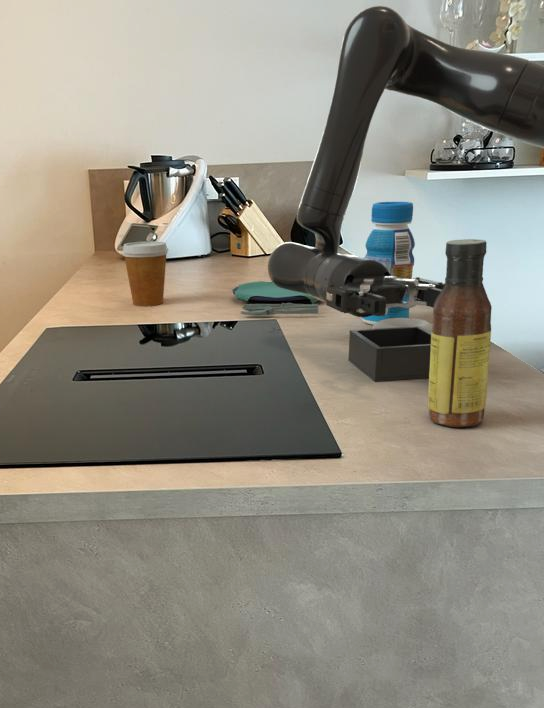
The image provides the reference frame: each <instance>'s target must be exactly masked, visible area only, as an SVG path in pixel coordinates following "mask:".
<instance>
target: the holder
mask: <svg viewBox="0 0 544 708" xmlns="http://www.w3.org/2000/svg"><path fill="white" fill-rule="evenodd" d="M430 351H431V332H430V331H428V330H426V329H424V328H422V327H420V326H413V327H397V328H381V329H371V328H367V329H364V328H363V329H351V330H349V341H348V359H347V360H348V362H350V363H351V364H352V365H354V367H356V368H357V369H358V370H359V371H361V372H362V373H364V374H365V375H366V376H367V377H368V378H369V379H371V380H372V381H373V382H375V383H376V382H390V381H404V380H405V381H406V380H419V379H420V380H421V379H429V372H430Z"/></svg>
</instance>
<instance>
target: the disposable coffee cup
mask: <svg viewBox="0 0 544 708" xmlns="http://www.w3.org/2000/svg"><path fill="white" fill-rule="evenodd" d="M168 252H169V248H168V246H167V242H165V241H158V240H157V241H151V240H150V241H135V242H128V243H124V244H123V247H122V251H121V253H122V255H123V257H124V262H125V267H126V272H127V279H128V283H129V288H130V295H131V299H132V304H133V305H134V306H139V307H151V306H152V307H153V306H159V305H162V304H163V303H164V293H165V280H166V279H165V278H166V266H167V255H168Z"/></svg>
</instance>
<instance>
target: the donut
mask: <svg viewBox="0 0 544 708" xmlns="http://www.w3.org/2000/svg"><path fill="white" fill-rule="evenodd" d="M413 326H420V327H422V328H424V329H426V330H428V331H430V332H431V331H432V327H433V323H431V322H429V321H427V320H425V319H420V318H412V317H409V318H390V319H384V320H381V321H378V322H376V323H375V324H374V325H372V326H371V328H370V329H381V328H397V327H413Z"/></svg>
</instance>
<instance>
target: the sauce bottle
mask: <svg viewBox="0 0 544 708" xmlns="http://www.w3.org/2000/svg"><path fill="white" fill-rule="evenodd" d="M486 255H487V240H486V239H474V238H467V239H465V238H464V239H452V240H448V241H447V242H446V243H445V256H446V271H445V272H446V274H445V278H444V283H445V286H444V288H443V290H442V291H441V293H440V294H439V296H438V297H437V299H436V300H435V303H434V308H433V310H432V325H433V327H432V331H431V351H430V372H429V378H428V393H427V407H428V417H429V419H430V421H432V422H433V423H434V424H436V425H442V426H445V427H449V428H468V427H474V426H478V425H479V424H480V423H482V421H484V417H485V408H486V405H487V394H488V393H487V391H488V381H489V380H488V378H489V365H490V353H491V339H492V324H491V323H492V322H491V321H492V308H493V307H492V304H491V303H492V302H491V301H490V299H489V297H488V294H487V292H486V289H485V285H484V283H483V282H484V277H483V274H484V273H483V272H484V261H485V257H486Z"/></svg>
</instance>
